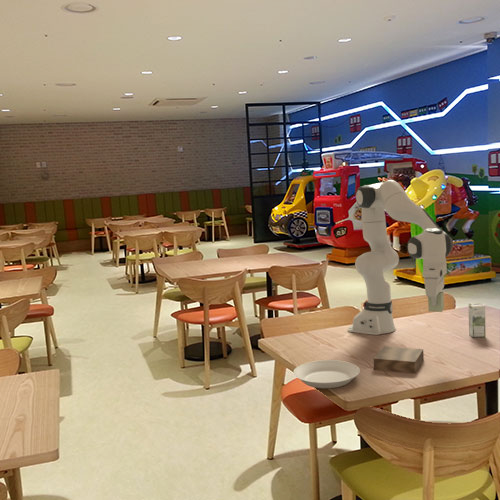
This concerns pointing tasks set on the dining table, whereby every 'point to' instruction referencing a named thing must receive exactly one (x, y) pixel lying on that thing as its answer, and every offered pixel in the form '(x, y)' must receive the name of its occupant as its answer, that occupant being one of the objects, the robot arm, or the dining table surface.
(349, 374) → the white plate
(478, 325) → the syrup box
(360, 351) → the dining table surface
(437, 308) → the sage block
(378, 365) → the walnut block
